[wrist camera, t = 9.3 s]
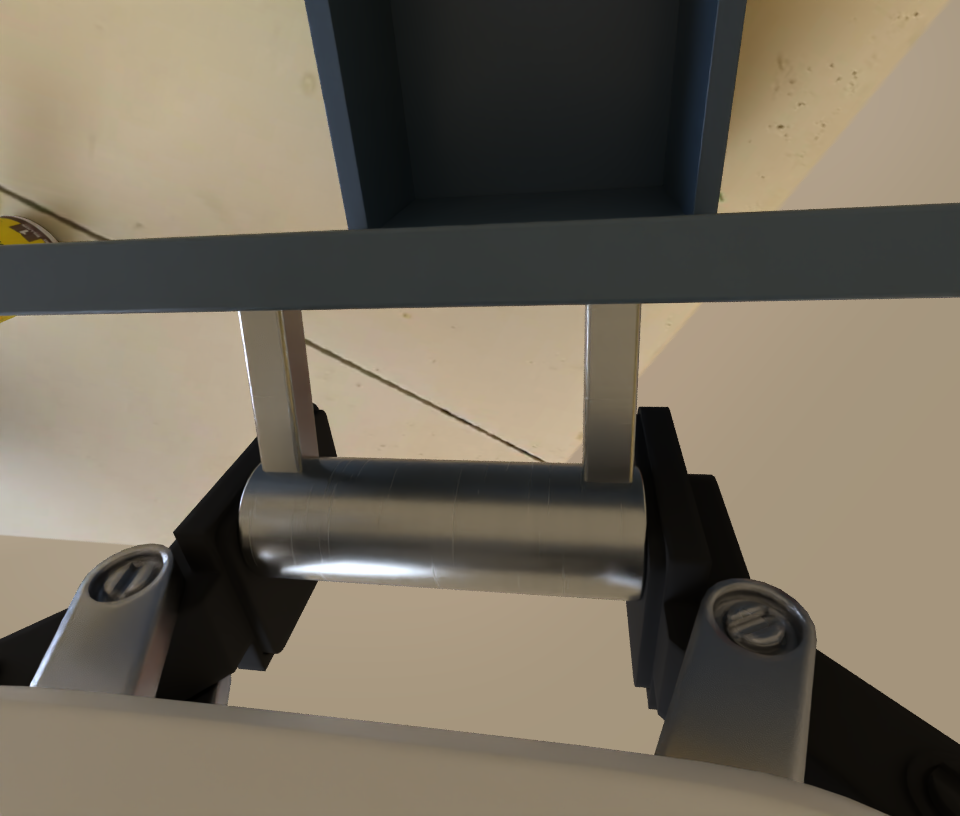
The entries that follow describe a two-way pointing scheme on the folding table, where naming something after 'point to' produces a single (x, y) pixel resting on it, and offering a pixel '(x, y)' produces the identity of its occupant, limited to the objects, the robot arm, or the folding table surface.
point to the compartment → (526, 107)
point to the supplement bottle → (21, 235)
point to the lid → (477, 283)
